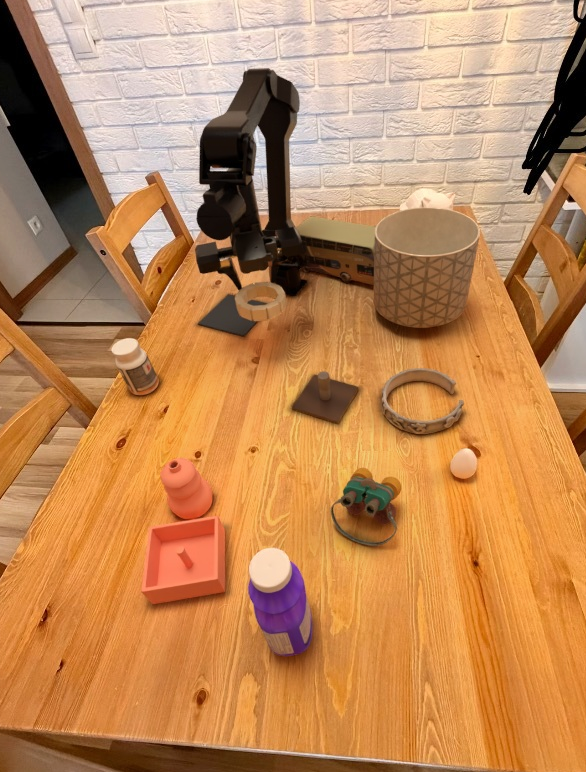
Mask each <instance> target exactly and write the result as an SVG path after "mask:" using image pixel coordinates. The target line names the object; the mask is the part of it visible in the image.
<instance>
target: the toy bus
mask: <svg viewBox="0 0 586 772" xmlns="http://www.w3.org/2000/svg"><path fill="white" fill-rule="evenodd" d="M295 227H296V229H297V230H298V232H299V235H300V237H301V240H302V244H303V246H304V247H305V249H306V254H307V257H306V258H307V265H305V266H303V267H302V269H301V270H303V272H305V273H309V271H310V272H315V273H319V274H324V275H328V276H333V277H338V278H340V279H341V281H342V282H343V283H345V284H347V283H348V284H349V283H350V282H351V281H355V282H360V283H363V284H367V285H371V286H374V241H375V228H376V226H374V225H368V224H361V223H355V222H350V221H349V222H348V221H344V220H337V219H331V218H325V217H318V216H309V217H308V218H306V219H305V220H303V221H302V222H301V223H299V225H297V226H295Z"/></svg>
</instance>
